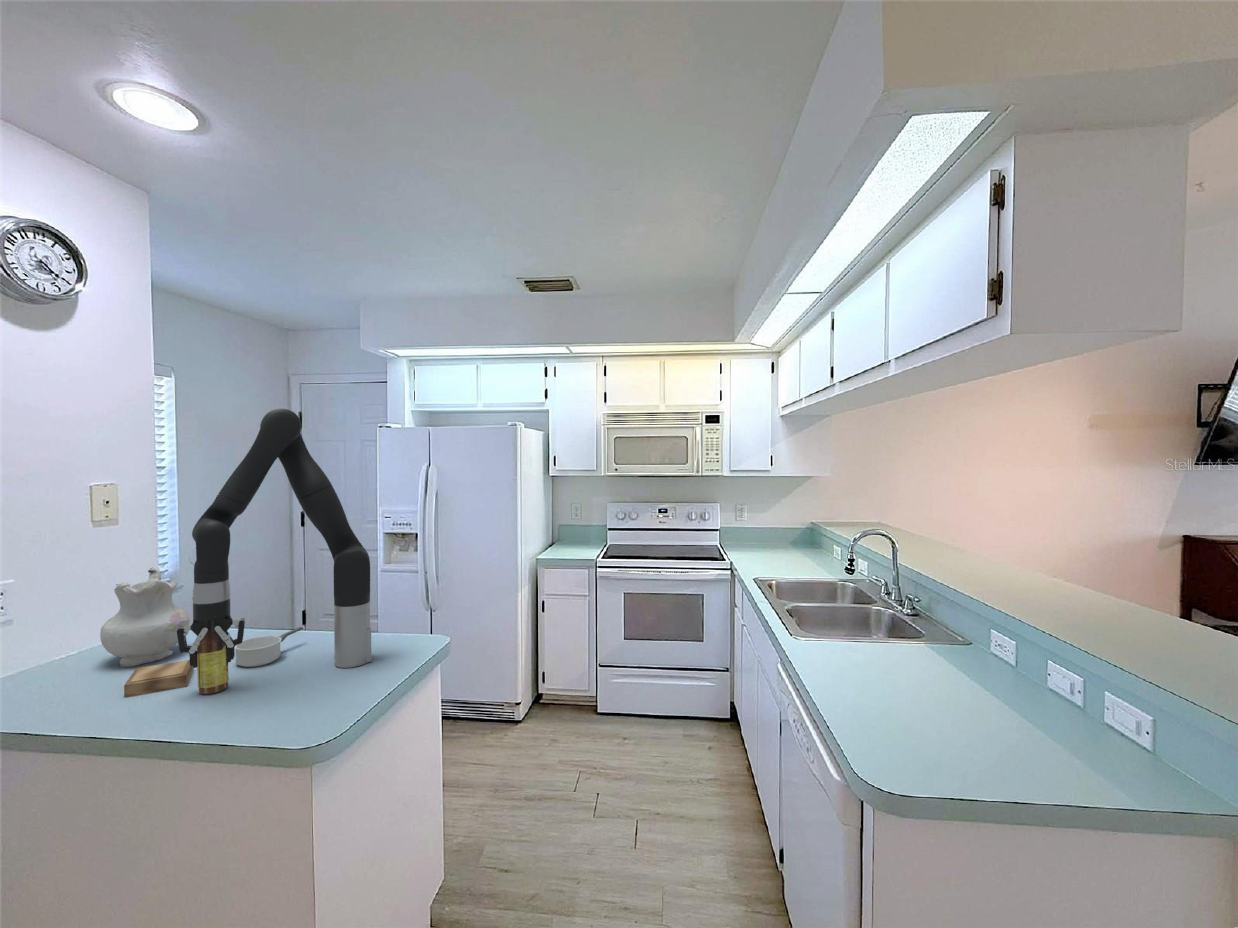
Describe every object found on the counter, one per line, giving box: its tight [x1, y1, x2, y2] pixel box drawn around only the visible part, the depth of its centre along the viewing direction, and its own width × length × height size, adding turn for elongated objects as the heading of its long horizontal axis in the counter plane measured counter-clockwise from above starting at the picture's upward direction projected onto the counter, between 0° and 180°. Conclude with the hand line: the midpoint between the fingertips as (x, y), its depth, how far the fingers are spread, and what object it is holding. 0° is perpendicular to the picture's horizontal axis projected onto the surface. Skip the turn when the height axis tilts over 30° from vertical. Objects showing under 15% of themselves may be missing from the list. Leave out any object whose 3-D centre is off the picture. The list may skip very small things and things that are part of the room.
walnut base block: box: [123, 659, 195, 698], centre depth 140 cm, size 12×12×3 cm
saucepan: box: [234, 626, 304, 668], centre depth 159 cm, size 12×20×6 cm, turn 162°
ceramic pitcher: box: [99, 567, 190, 668], centre depth 157 cm, size 22×20×25 cm
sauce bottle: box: [196, 620, 230, 695], centre depth 136 cm, size 6×6×20 cm
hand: (212, 663), depth 136 cm, fingers closed on sauce bottle, 6 cm apart
